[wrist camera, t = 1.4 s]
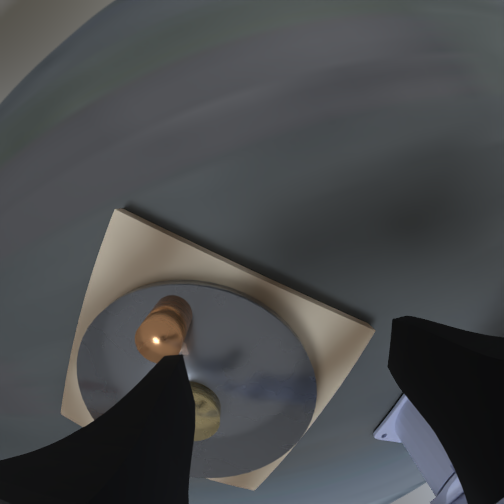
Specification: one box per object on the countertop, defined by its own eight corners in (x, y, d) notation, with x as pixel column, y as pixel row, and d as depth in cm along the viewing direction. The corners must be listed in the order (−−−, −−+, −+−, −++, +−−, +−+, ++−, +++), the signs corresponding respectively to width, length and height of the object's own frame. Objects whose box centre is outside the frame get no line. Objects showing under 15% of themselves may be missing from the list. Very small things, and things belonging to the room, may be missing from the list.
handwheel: (356, 341, 17) (388, 381, 13) (249, 485, 19) (251, 529, 15) (121, 233, 16) (81, 246, 11) (70, 414, 18) (45, 452, 13)
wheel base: (368, 323, 19) (375, 330, 18) (253, 480, 21) (254, 490, 20) (122, 208, 17) (114, 209, 16) (66, 405, 19) (60, 413, 18)
